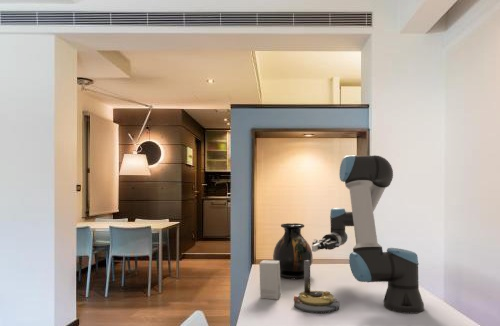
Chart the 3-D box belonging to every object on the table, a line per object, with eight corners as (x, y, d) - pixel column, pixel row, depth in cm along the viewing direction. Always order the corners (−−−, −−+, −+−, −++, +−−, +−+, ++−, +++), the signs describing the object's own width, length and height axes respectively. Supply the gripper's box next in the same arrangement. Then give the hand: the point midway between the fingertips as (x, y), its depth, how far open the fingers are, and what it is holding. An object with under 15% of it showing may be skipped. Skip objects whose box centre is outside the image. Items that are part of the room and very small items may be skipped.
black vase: (304, 283, 188) (303, 227, 189) (266, 278, 198) (266, 225, 200) (318, 274, 206) (318, 223, 208) (283, 270, 217) (283, 221, 218)
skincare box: (280, 295, 167) (280, 260, 168) (278, 300, 161) (277, 263, 162) (262, 294, 169) (262, 259, 170) (259, 298, 163) (259, 262, 164)
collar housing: (348, 308, 150) (348, 295, 150) (314, 316, 140) (314, 302, 141) (317, 296, 165) (317, 284, 166) (284, 303, 156) (284, 290, 156)
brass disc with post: (340, 302, 150) (340, 264, 151) (313, 307, 144) (312, 268, 144) (318, 293, 163) (318, 258, 164) (291, 297, 156) (291, 261, 157)
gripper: (344, 249, 182) (327, 258, 162) (319, 247, 189) (299, 255, 169) (344, 234, 183) (327, 241, 163) (319, 232, 190) (299, 238, 170)
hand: (313, 248), depth 166 cm, fingers closed
